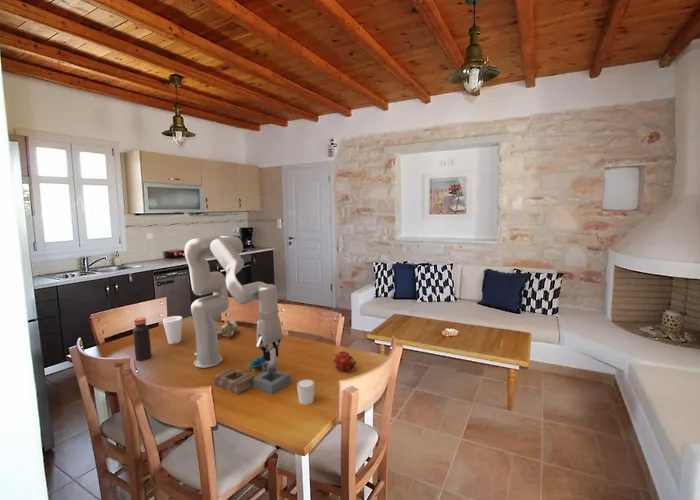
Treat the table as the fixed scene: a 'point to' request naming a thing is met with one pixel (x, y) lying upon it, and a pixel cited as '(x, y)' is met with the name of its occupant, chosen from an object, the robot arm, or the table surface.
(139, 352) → the bottle
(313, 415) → the table surface
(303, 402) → the white fluted cup
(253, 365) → the gear
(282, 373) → the socket block
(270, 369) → the axle
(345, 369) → the dragon fruit
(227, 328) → the ceramic sculpture
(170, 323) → the foam cup
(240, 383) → the brown rectangular frame
